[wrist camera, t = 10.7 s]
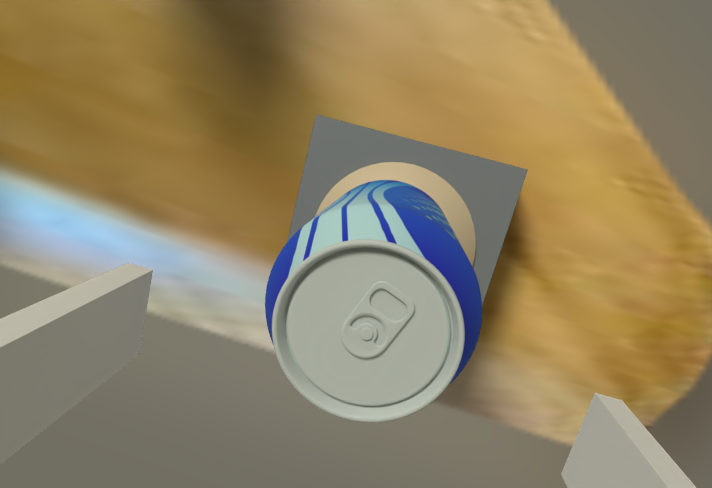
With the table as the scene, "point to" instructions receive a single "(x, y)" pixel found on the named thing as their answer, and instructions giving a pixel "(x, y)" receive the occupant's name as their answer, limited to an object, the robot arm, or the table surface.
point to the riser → (418, 168)
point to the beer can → (374, 304)
